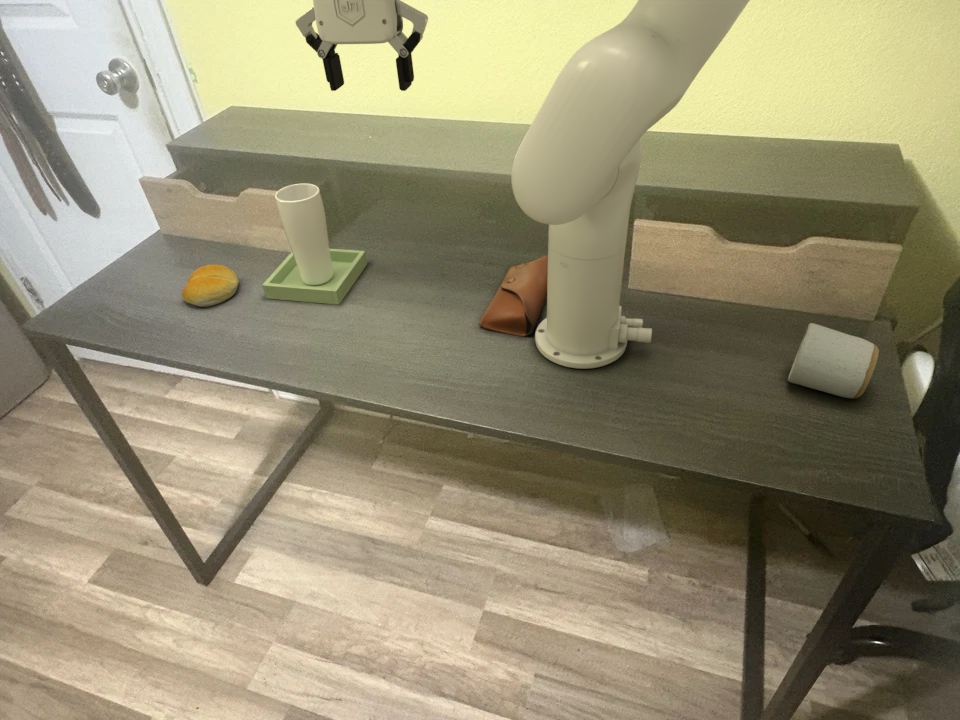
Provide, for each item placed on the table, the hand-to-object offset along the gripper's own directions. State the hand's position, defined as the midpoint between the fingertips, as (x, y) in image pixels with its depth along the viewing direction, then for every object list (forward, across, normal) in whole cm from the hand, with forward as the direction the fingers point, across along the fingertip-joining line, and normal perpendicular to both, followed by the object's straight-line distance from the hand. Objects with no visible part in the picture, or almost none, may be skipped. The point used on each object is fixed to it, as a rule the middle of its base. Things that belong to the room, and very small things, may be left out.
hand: (371, 87), depth 84 cm
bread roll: (+30, -30, -8) cm, 43 cm away
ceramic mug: (+31, +60, -15) cm, 69 cm away
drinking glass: (+30, -14, -2) cm, 33 cm away
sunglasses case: (+30, +20, -3) cm, 37 cm away
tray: (+30, -14, -2) cm, 33 cm away
